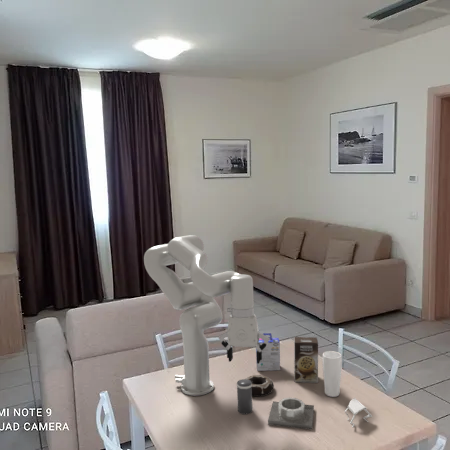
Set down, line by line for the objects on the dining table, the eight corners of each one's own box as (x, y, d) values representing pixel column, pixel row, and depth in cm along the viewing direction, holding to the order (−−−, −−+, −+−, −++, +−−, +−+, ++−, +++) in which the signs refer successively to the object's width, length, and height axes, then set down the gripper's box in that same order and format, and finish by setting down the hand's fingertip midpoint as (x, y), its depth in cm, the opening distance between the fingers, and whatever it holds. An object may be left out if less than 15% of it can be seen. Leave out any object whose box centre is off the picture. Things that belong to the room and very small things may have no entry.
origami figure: (375, 428, 136) (375, 413, 135) (348, 429, 136) (348, 414, 135) (363, 408, 148) (363, 394, 147) (339, 408, 148) (339, 395, 147)
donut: (239, 396, 158) (239, 386, 158) (246, 381, 169) (246, 371, 169) (270, 399, 155) (270, 389, 155) (276, 384, 166) (275, 374, 166)
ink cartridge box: (279, 365, 183) (278, 332, 181) (280, 370, 177) (280, 336, 176) (256, 365, 183) (255, 332, 181) (256, 371, 178) (256, 337, 176)
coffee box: (294, 382, 167) (294, 342, 165) (294, 375, 173) (293, 336, 172) (318, 383, 166) (318, 342, 164) (317, 375, 172) (316, 336, 170)
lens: (236, 413, 146) (235, 385, 145) (239, 405, 151) (238, 378, 150) (250, 415, 145) (250, 386, 144) (253, 407, 150) (253, 379, 149)
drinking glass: (342, 399, 154) (342, 358, 152) (322, 397, 155) (322, 357, 153) (341, 390, 160) (341, 351, 158) (322, 388, 161) (322, 350, 160)
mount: (268, 424, 139) (267, 411, 139) (273, 405, 151) (272, 393, 150) (312, 429, 136) (312, 416, 135) (313, 409, 147) (313, 397, 147)
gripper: (214, 314, 143) (217, 364, 145) (266, 316, 139) (268, 367, 140) (220, 307, 150) (222, 355, 152) (270, 309, 146) (271, 358, 147)
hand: (244, 360), depth 146 cm, fingers open, 9 cm apart
